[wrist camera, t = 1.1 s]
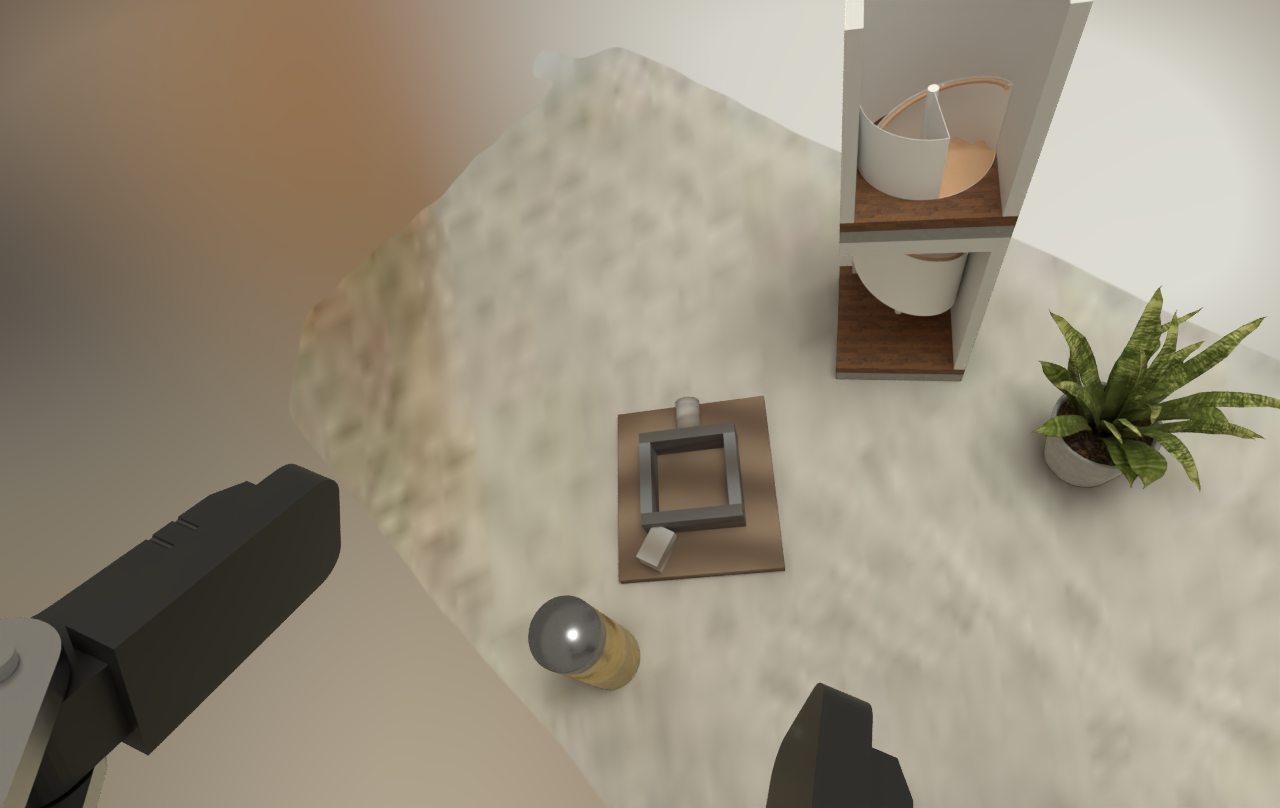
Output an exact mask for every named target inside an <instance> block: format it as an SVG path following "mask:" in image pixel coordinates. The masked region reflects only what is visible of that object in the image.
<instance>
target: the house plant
mask: <svg viewBox="0 0 1280 808" xmlns="http://www.w3.org/2000/svg"><path fill="white" fill-rule="evenodd" d="M1162 303H1163V298H1162V295H1161V291H1160V288H1158V290H1157V291H1156V292H1155V294H1154V295H1153V297H1152V299H1151V300H1150V302H1149V303H1148V305H1147V306H1146V308H1145V310H1144V312H1143V314H1142V316H1141V318H1140V320H1139V322H1138V324H1137V326H1136V328H1135V330H1134V332H1133V334H1132V337H1131V339H1130V341H1129V342H1128V344H1127V346H1126V347H1125V349H1124V350H1123V352H1122V354H1121V356H1120V357H1119V358H1118V360H1117V361H1116V362H1115V364H1114V366H1113V368H1112V371H1111V373H1110V375H1109V378H1108V382H1107V383H1105V382H1101V381H1100V379H1099V376H1098V370H1097V365H1096V361H1095V358H1094V355H1093V353H1092V350H1091V347H1090V345H1089V343H1088V341H1087V339H1086V338H1085V337H1084V336H1083V335H1082V334H1081V333H1079V332H1078V331H1077V330H1075V329H1074V328H1073V327H1072V326H1071V325H1070V324H1069V323H1068V322H1067V321H1066V320H1065V319H1064V318H1063V317H1060V316H1058V315H1055V314H1053V313H1051V312H1050V314H1051V316H1052V317H1053V319H1054V320H1055V322H1056V323H1057V325H1058V327H1059V329H1060V330H1061V332H1062V334H1063V335H1064V337H1065V339H1066V341H1067V343H1068V345H1069V347H1070V358H1069V362H1068V370H1067V369H1065V368H1063V367H1061V366H1059V365H1056V364H1053V363H1048V362H1043V361H1039V362H1041V364H1042V369H1043V372H1044V374H1045V375H1046V377H1047V378H1048V379H1049V380H1050V382H1051V383H1052V384H1054V385H1055V386H1056V387H1057V388H1058V389H1059V390H1060V391H1062V392H1063V393H1064V394H1063V395H1062V396H1061V397H1060V398H1059V399H1058V401H1057V403H1056V405H1055V407H1054V409H1053V412H1052V417H1051V419H1050V420H1049V421H1048V422H1046V423H1045V424H1044V425H1043V426H1041V427H1040V428H1039V429H1037V430H1035V431H1033V432H1038V433H1041V434H1043V435H1046V436H1047V439H1046V444H1045V450H1044V456H1045V461H1046V463H1047V465H1048V466H1049V467H1050V469H1051V470H1052V471H1053V472H1054V473H1055V474H1056V475H1057V476H1058V477H1059V478H1060V479H1062V480H1063V481H1064V482H1066V483H1069V484H1071V485H1074V486H1080V487H1094V486H1098V485H1101V484H1103V483H1105V482H1107V481H1109V480H1111V479H1114V478H1116V477H1118V476H1120V475H1122V474H1124V475H1125V477H1126V478H1127V480H1128V481H1129V483H1130V487H1132V484H1133V482H1134V480H1135V479H1136V478H1137V476H1139V477H1140V478H1141V480H1142V482H1143V483H1144V487H1143V489H1144V488H1145V487H1146V486H1148V485H1149V484H1150V483H1152V482H1154V481H1155V480H1157V479H1159V478H1160V477H1162V476H1163V475H1164V473H1165V471H1166V470H1167V462H1166V460H1165V458H1164V457H1163V456H1162V455H1161V454H1160V453H1159V452H1158V451H1159V450H1160V447H1161V445H1162V446H1163V447H1164V448H1165V449H1166V450H1167V451H1168V452H1169V453H1170V454H1171V455H1173V456H1174V457H1175V458H1176V459H1177V460H1178V461H1179V462H1180V463H1181V464H1182V465H1183V467H1184V469H1185V471H1186V473H1187V475H1188V476H1189V478H1190V480H1191V481H1192V482H1193V483H1194V484H1195V485H1196V486H1197V488H1198V489H1199V491H1200V483H1199V478H1198V472H1197V469H1196V466H1195V463H1194V461H1193V458H1192V456H1191V454H1190V452H1189V451H1188V449H1187V447H1186V446H1185V445H1184V444H1183V443H1182V442H1181V441H1180V440H1179V439H1178V438H1177V437H1176V436H1174V435H1172V434H1171V433H1177V432H1194V433H1207V434H1227V435H1233V436H1237V437H1241V438H1248V439H1254V438H1252V437H1257V438H1263V437H1262V436H1260V435H1258V434H1256V433H1254V432H1252V431H1250V430H1248V429H1246V428H1243V427H1240V426H1237V425H1234V424H1230V423H1229V422H1228V420H1227V418H1226V417H1225V416H1224V414H1223V413H1222V412H1221V410H1219V409H1218V408H1216V407H1222V406H1223V407H1273V408H1279V409H1280V400H1278V399H1274V398H1271V397H1267V396H1263V395H1257V394H1250V393H1241V392H1216V391H1215V392H1202V393H1197V394H1194V395H1190V396H1187V397H1183V398H1179V399H1175V400H1171V401H1166V402H1163V403H1159V402H1161V401H1162V400H1164V399H1165V398H1166V397H1167V396H1169V395H1170V394H1171V393H1173V392H1174V391H1176V390H1177V389H1179V388H1181V387H1182V386H1184V385H1185V384H1187V383H1189V382H1190V381H1192V380H1193V379H1195V378H1197V377H1198V376H1200V375H1201V374H1203V373H1204V372H1206V371H1207V370H1209V369H1210V368H1212V367H1213V366H1215V365H1216V364H1218V363H1219V362H1220V361H1222V360H1223V359H1225V358H1226V357H1227V356H1228V355H1229V354H1230V353H1231V352H1232V351H1233V349H1234V348H1235V347H1236V346H1237V345H1238V344H1239V343H1240V342H1241V340H1242V339H1243V338H1245V337H1246V336H1247V335H1248V334H1250V333H1251V332H1252V331H1254V330H1255V329H1256V328H1257V327H1258V326H1259V325H1260V323H1261V322H1262V320H1263V319H1264V318H1265V317H1263V318H1259V319H1257V320H1255V321H1253V322H1251V323H1248V324H1246V325H1243V326H1242V327H1240V328H1239V329H1237V330H1235V331H1233V332H1231V333H1230V334H1228V335H1226V336H1224V337H1223V338H1222V339H1220V340H1219V341H1217V342H1216V343H1214V344H1213V345H1211V346H1210V347H1208V348H1207V349H1206V350H1204V351H1203V352H1201V353H1200V354H1198V355H1197V356H1195V357H1193V358H1192V359H1190V360H1188V361H1187V362H1185V363H1184V364H1183V361H1184V360H1185V359H1186V358H1187V357H1188V355H1189V354H1190V353H1192V352H1193V351H1195V350H1196V349H1198V348H1199V347H1200V346H1201V344H1202V343H1203V342H1204V341H1202V342H1199V343H1196V344H1193V345H1190V346H1188V347H1186V348H1183V349H1181V350H1179V351H1177V352H1175V351H1176V343H1177V336H1178V325H1179V324H1180V323H1182V322H1184V321H1186V320H1187V319H1189V318H1190V317H1192V316H1193V315H1195V314H1196V313H1197V312H1199V311H1200V310H1201V309H1199V310H1197V311H1195V312H1192V313H1190V314H1187V315H1186V316H1183V317H1181V318H1179V319H1177V316H1176V312H1175V314H1174V316H1173V319H1172V321H1171V322H1169V323H1166V324H1164V325H1162V326H1161V320H1160V313H1161V309H1162ZM1049 311H1050V310H1049ZM1167 330H1168V333H1167V337H1166V341H1165V343H1164V345H1163V348H1162V350H1161V351H1160V353H1159V354H1158V355H1157V357H1156V358H1155V360H1154V361H1153V362H1152V364H1151V365H1150V367H1149V368H1148V369H1147V363H1148V361H1149V359H1150V357H1151V356H1152V355H1153V354H1154V353H1155V352H1156V351H1157V350H1158V349H1159V347H1160V341H1159V338H1160V336H1161V334H1162V333H1164V332H1165V331H1167ZM1078 370H1079V372H1078ZM1079 374H1080V377H1079ZM1080 378H1081V381H1082V383H1083V384H1082V385H1081V381H1080ZM1158 403H1159V404H1158ZM1173 419H1190V420H1188V421H1181V422H1173V423H1164V424H1162V421H1161V420H1173ZM1226 422H1227V423H1226ZM1265 440H1266V439H1265Z"/></svg>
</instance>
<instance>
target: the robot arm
mask: <svg viewBox="0 0 1280 808" xmlns="http://www.w3.org/2000/svg"><path fill="white" fill-rule="evenodd" d="M339 504H340V503H339V487H338V484H337V483H336V482H335V481H334V480H331V479H329V478H327V477H324V476H322V475H319V474H317V473H315V472H312V471H310V470H308V469H305V468H303V467H300V466H298V465H295V464H288V465H285V466H283V467H281V468H279V469H277V470H276V471H275V472H273V473H272V474H271V475H269V476H268V477H267V478H265V479H264V480H263V481H261V482H260V483H259V484H257V485H255V484H253V483H250V482H248V481H246V482H244V483H241V484H238V485H235V486H233V487H230V488H227V489H225V490H222V491H219V492H217V493H214V494H211V495H209V496H208V497H206V498H205V499H203V500H202V501H200V502H199V503H197V504H196V505H195V506H193V507H192V508H190V509H189V510H187V511H186V512H185V513H183V514H182V515H180V516H179V517H178V520H177V521H176V522H173V521H172V522H170V523H169V524H167V525H166V526H165V527H163V528H162V529H160V530H159V531H157V532H156V533H154V534H153V536H152V538H151V539H150V540H144V541H143V542H142V543H140V544H139V545H137V546H136V547H134V548H133V549H132V550H130V551H129V552H127V553H126V554H124V555H123V556H122V557H120V558H119V559H117V560H116V561H114V562H113V563H111V564H110V565H109V566H107V567H106V568H104V569H103V570H101V571H100V572H99V573H97V574H96V575H94V576H93V577H91V578H90V579H89V580H87V581H86V582H84V583H83V584H81V585H80V586H79V587H77V588H76V589H74V590H73V591H71V592H70V593H69V594H67V595H66V596H64V597H63V598H61V599H60V600H58V601H57V602H56V603H54V604H53V605H51V606H50V607H48V608H47V609H45V610H44V611H42V612H41V613H39V614H37V615H35V616H33V617H31V618H22V617H18V618H5V619H0V808H97V804H98V800H99V796H100V793H101V789H102V786H103V782H104V779H105V775H106V770H107V758H106V756H107V755H108V754H109V752H111V751H112V750H113V749H114V748H115V747H116V746H117V745H118V744H119V743H120V742H123V743H125V744H127V745H129V746H131V747H133V748H135V749H137V750H139V751H141V752H143V753H145V754H147V755H149V754H150V753H151V752H152V751H153V750H154V749H155V748H156V747H157V746H159V745H160V743H162V742H163V741H164V740H165V739H166V738H167V736H169V735H170V734H171V733H172V732H173V731H174V730H175V728H177V727H178V725H180V724H181V723H182V722H183V721H184V720H185V719H186V718H187V717H188V716H189V715H190V714H191V713H192V712H193V711H194V710H195V709H196V708H197V707H198V706H199V705H200V704H201V703H202V702H203V701H204V700H205V699H206V698H207V697H208V696H209V695H210V694H211V693H212V692H213V691H214V690H215V689H216V688H217V687H218V686H219V685H220V684H221V683H222V682H223V681H224V680H225V679H226V678H227V677H228V676H229V675H230V674H231V673H232V672H233V671H234V670H235V669H236V668H237V667H238V666H239V665H240V664H241V663H242V662H243V661H244V660H245V659H246V658H247V657H248V656H249V655H250V654H251V653H252V652H253V651H254V650H255V649H256V648H257V647H259V645H261V644H262V643H263V642H264V640H266V638H268V637H269V636H270V635H271V634H272V633H273V632H274V631H275V630H276V629H277V628H278V627H279V626H280V625H281V624H282V623H283V622H284V621H285V620H286V619H287V618H288V617H289V616H290V615H291V614H292V613H293V612H294V611H295V610H296V609H297V608H298V607H299V606H300V605H301V604H302V603H303V602H304V601H305V600H306V599H307V598H308V597H309V596H310V595H311V594H312V593H313V592H314V591H315V590H316V589H317V588H318V587H319V586H320V585H321V584H322V583H323V582H324V581H325V580H326V578H327V577H328V576H329V574H330V573H331V571H332V570H333V568H334V566H335V564H336V562H337V559H338V557H339V553H340V548H341V536H340V505H339ZM872 723H873V713H872V708H871V705H870V704H869V703H867V702H865V701H863V700H860V699H858V698H856V697H853V696H851V695H848V694H846V693H844V692H841V691H839V690H837V689H834V688H832V687H829V686H827V685H825V684H822V683H818V684H817V685H816V686H815V687H814V689H813V690H812V692H811V694H810V695H809V697H808V699H807V700H806V702H805V704H804V705H803V707H802V709H801V710H800V712H799V714H798V715H797V717H796V719H795V720H794V722H793V724H792V726H791V727H790V729H789V731H788V732H787V734H786V736H785V737H784V739H783V741H782V743H781V746H780V748H779V751H778V754H777V757H776V760H775V763H774V767H773V771H772V775H771V781H770V786H769V793H768V799H767V805H766V808H913V799H912V796H911V794H910V791H909V788H908V786H907V783H906V780H905V778H904V775H903V772H902V770H901V767H900V764H899V761H898V759H897V758H896V757H893V756H891V755H889V754H886V753H884V752H882V751H879V750H877V749H875V748H872Z"/></svg>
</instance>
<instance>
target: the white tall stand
mask: <svg viewBox="0 0 1280 808" xmlns="http://www.w3.org/2000/svg"><path fill="white" fill-rule="evenodd" d="M1092 3H1093V0H846V4H845V34H844V74H843V117H842V158H841V200H840V242H839V256H852V258H853V262H852V266H840V275H839V306H838V337H837V368H836V379H869V380H923V381H961V380H962V377H963V374H964V371H965V368H966V365H967V363H968V360H969V357H970V354H971V351H972V348H973V345H974V343H975V340H976V337H977V334H978V331H979V328H980V325H981V322H982V320H983V317H984V314H985V311H986V308H987V305H988V302H989V299H990V297H991V294H992V291H993V288H994V285H995V282H996V279H997V276H998V274H999V271H1000V268H1001V265H1002V262H1003V259H1004V256H1005V253H1006V251H1007V248H1008V245H1009V242H1010V239H1011V236H1012V233H1013V230H1014V227H1015V225H1016V222H1017V219H1018V216H1019V213H1020V210H1021V207H1022V205H1023V202H1024V199H1025V195H1026V193H1027V190H1028V187H1029V184H1030V182H1031V179H1032V176H1033V173H1034V170H1035V167H1036V164H1037V161H1038V159H1039V156H1040V153H1041V150H1042V147H1043V144H1044V141H1045V138H1046V136H1047V133H1048V130H1049V127H1050V124H1051V121H1052V118H1053V115H1054V112H1055V110H1056V107H1057V104H1058V101H1059V98H1060V95H1061V92H1062V89H1063V87H1064V84H1065V81H1066V78H1067V75H1068V72H1069V69H1070V67H1071V64H1072V61H1073V58H1074V55H1075V52H1076V49H1077V47H1078V44H1079V41H1080V38H1081V35H1082V32H1083V29H1084V26H1085V23H1086V21H1087V18H1088V15H1089V12H1090V9H1091V6H1092Z"/></svg>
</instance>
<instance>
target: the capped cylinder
mask: <svg viewBox="0 0 1280 808" xmlns="http://www.w3.org/2000/svg"><path fill="white" fill-rule="evenodd" d="M528 640H529V647H530V650H531V653H532V655H533V657H534V658H535V660H536V661H537V662H538V663H539V664H540V665H541V666H542V667H544V668H546V669H548V670H550V671H553V672H556V673H559V674H562V675H565V676H568V677H570V678H573V679H576V680H579V681H582V682H585V683H588V684H591V685H594V686H596V687H599V688H602V689H608V690H611V689H617V688H620V687H622V686H624V685H626V684H627V683H628V682H629V681H630V680H631V679H632V678H633V677H634V675H635V674H636V672H637V669H638V667H639V663H640V650H639V646H638V643H637V641H636V639H635V638H634V636H633V635H632V634H631V633H630V632H629V631H627V630H626V629H624V628H623V627H622V626H620V625H619V624H617V623H616V622H614V621H613V620H611V619H610V618H608V617H607V616H605V615H604V614H602V613H601V612H599V611H598V610H597V609H595V608H594V607H592V606H591V605H589V604H588V603H586V602H585V601H583V600H582V599H580V598H577V597H574V596H559V597H555V598H553V599H551V600H549V601H548V602H546V603H545V604H544V605H542V606H541V607H540V608H539V610H538V611H537V612H536V614H535V615H534V617H533V619H532V621H531V624H530V628H529V635H528Z"/></svg>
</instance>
